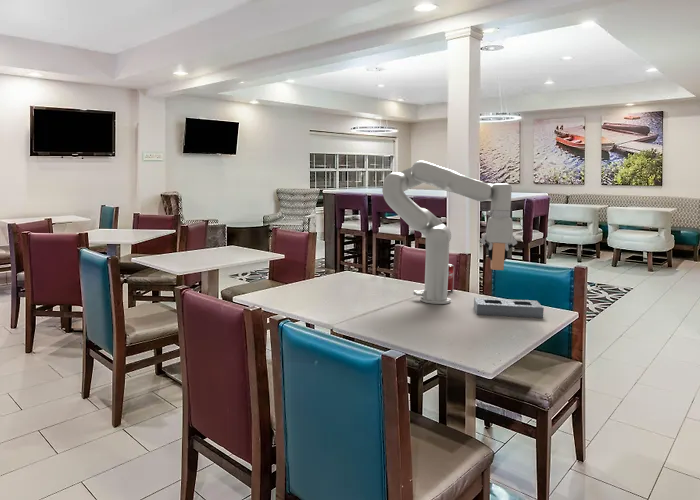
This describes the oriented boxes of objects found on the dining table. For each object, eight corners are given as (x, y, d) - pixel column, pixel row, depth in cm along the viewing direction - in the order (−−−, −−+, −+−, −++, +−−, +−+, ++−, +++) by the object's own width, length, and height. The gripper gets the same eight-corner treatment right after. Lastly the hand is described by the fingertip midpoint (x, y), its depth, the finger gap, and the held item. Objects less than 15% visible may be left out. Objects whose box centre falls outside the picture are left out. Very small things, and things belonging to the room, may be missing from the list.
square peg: (491, 269, 203) (493, 239, 201) (490, 267, 207) (492, 238, 206) (503, 270, 202) (505, 240, 201) (501, 268, 207) (503, 239, 205)
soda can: (453, 292, 233) (454, 266, 231) (437, 291, 234) (438, 265, 233) (453, 289, 240) (454, 264, 238) (437, 288, 241) (438, 263, 240)
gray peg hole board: (476, 314, 191) (477, 304, 191) (473, 307, 203) (474, 297, 203) (543, 318, 188) (543, 307, 187) (536, 310, 200) (536, 300, 199)
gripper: (479, 214, 200) (476, 260, 202) (523, 215, 197) (520, 262, 200) (477, 213, 207) (475, 257, 209) (520, 214, 205) (517, 259, 207)
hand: (497, 259), depth 204 cm, fingers closed on square peg, 4 cm apart
